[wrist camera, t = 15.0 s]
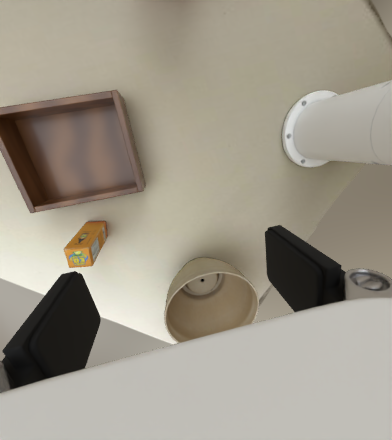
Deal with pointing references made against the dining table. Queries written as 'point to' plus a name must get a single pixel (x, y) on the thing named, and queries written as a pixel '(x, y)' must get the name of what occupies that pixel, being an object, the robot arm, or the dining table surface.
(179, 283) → the planter bowl
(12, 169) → the wooden tray
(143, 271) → the dining table surface
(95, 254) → the supplement box
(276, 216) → the dining table surface
